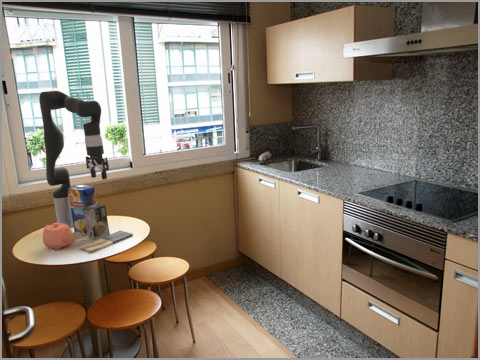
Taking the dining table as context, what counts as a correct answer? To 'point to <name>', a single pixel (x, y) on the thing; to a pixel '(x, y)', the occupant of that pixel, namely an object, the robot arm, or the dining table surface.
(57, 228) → the teapot
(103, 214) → the coffee box
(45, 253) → the dining table surface
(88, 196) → the juice carton
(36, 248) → the dining table surface
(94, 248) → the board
